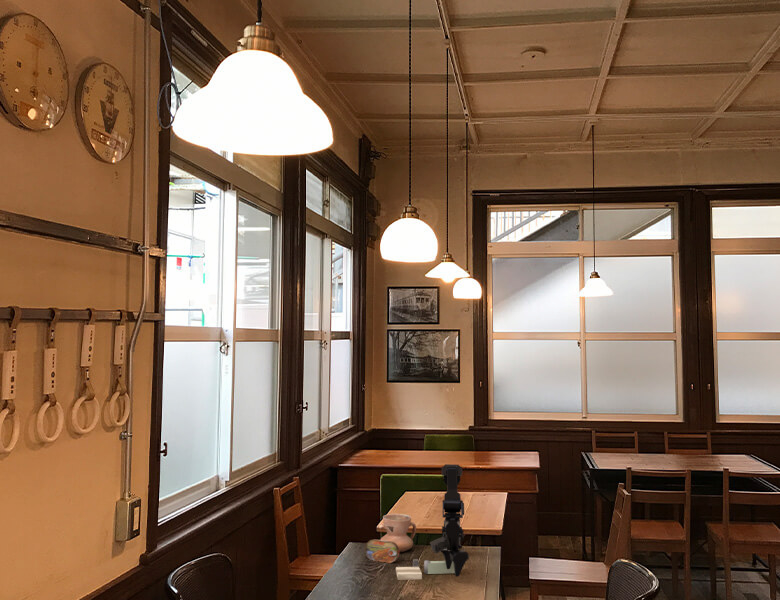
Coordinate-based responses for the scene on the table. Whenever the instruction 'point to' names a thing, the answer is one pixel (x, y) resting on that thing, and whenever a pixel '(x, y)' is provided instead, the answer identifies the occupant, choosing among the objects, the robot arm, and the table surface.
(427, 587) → the table surface
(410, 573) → the stool seat
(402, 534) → the ceramic jug
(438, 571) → the stool leg
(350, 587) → the table surface
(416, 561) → the leg stop
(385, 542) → the tin
